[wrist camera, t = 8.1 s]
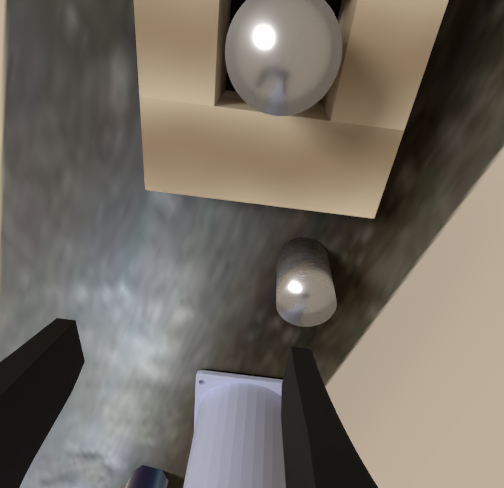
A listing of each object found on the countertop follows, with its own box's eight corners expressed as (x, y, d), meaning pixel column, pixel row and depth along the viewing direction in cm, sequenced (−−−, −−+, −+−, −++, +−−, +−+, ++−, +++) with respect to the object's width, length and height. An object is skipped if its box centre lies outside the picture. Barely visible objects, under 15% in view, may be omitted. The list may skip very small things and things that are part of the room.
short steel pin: (319, 283, 22) (326, 331, 18) (271, 273, 22) (270, 320, 18) (334, 243, 20) (345, 288, 17) (283, 233, 20) (284, 275, 17)
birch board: (358, 186, 18) (374, 218, 15) (166, 162, 18) (145, 189, 15) (456, -146, 12) (517, -201, 9) (158, -187, 12) (117, -256, 9)
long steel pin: (306, 86, 16) (324, 124, 10) (240, 74, 16) (219, 105, 10) (324, 6, 14) (358, -4, 8) (251, -8, 14) (232, -29, 8)
